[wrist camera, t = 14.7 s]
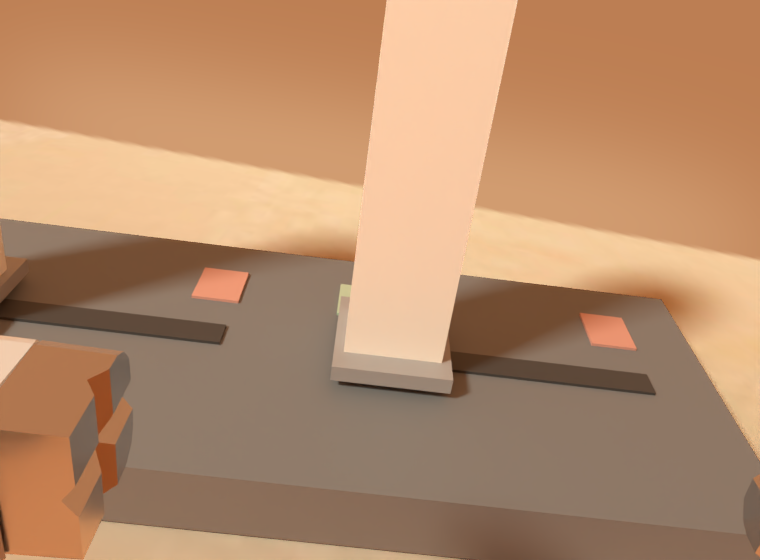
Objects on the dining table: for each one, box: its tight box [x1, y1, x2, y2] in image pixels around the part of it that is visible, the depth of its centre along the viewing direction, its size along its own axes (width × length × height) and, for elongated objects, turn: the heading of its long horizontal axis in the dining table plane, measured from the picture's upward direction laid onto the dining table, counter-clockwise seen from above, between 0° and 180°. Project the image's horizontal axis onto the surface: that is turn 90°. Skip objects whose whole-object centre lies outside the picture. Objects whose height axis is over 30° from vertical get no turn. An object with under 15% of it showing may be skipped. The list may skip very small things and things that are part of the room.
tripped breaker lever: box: [330, 0, 518, 394], centre depth 20 cm, size 4×4×12 cm
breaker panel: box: [0, 219, 760, 560], centre depth 24 cm, size 29×12×2 cm, turn 88°
